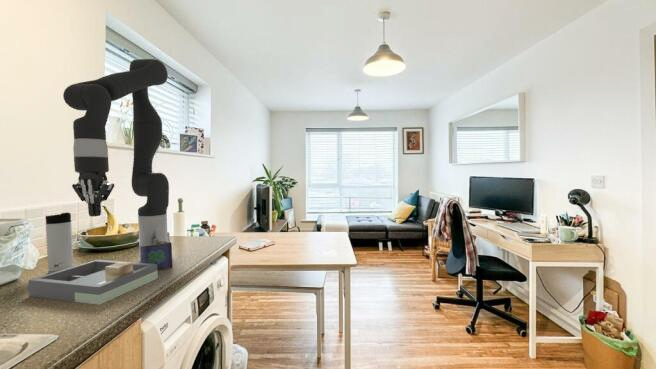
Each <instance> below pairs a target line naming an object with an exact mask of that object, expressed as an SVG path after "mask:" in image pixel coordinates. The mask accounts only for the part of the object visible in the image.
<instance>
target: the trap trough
mask: <svg viewBox="0 0 656 369" xmlns="http://www.w3.org/2000/svg"><path fill="white" fill-rule="evenodd" d="M118 262H123V261H122V260H121V261H120V260H107V259H106V260H105V259H94V260H91V261H87V262H83V263H81V264H78V265H74V266H73V267H70V268H67V269H63V270H60V271H57V272H53V273H50V274H49V273H47V274H44V275H41V276H37V277H34V278H30V279H28V280H27V282H28V296H29V297H32V298H33V297H34V298H40V299H49V300H57V301H65V302H72V303H73V302H75V303H82V304H90V305H98V306H99V305H103V304H105V303H107V302H109V301H111V300H113V299H116V298H117V297H120V296H122V295H124V294H127V293H128V292H132V291H133V290H135V289H137V288H139V287H141V286H145V285H146V284H149V283H150V282H153V281H154V280H157V279H159V276H158V275H159V274H158V273H159V272H158V271H159V270H157V264H149V263H141V262H133V261H128V262H129V263H133V272H131V273H128V274H126V275H123V276H121V277H118V278H115V279H113V280H110V281H108V282H106V276H105V267H106V266H109V265H112V264H115V263H118Z"/></svg>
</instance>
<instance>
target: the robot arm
mask: <svg viewBox="0 0 656 369" xmlns="http://www.w3.org/2000/svg"><path fill="white" fill-rule="evenodd" d="M167 80H168V70H167V67H166V66H165V64H164V63H163V62H162V61H160V60H159V59H154V58H141V59H133V60H132V61H131V62H130V64H129V70H128V71H127V70H126V71H120V72H114V73H112V74H107V75H105V76H102V77H100V78H97V79H93V80H87V81H82V82H76V83H73V84H70V85H68V86H66V88H65V89H64V91H63V93H62V94H63V95H62V96H63V100H64V102H65V104H66V105H68V106H69V107H70V108H71V109H73V110H77V111H85V114H84V115H83V116H81V117H77V118H75V119H74V121H73V122H72V123H73V125H72V128H73V148H72V149H73V164H74V165H73V166H74V172H75V173H77V174H78V173H79V175H78V180H77V183H73V184H72V185H71V187H72V189H73V191H74V192H75V194H77V196H78V198H79V200H80V201H81V202H85V203H86V204H87V208H88V209H87V211H88V216H89V217H100V216H101V215H102V214H101V213H102V205H101V204H102V202H105V201H107V200H108V198H109V197H110V195H111V193H112V191H113V189H114V188H115V183H110V182H109V180H108V177H107V174H106V173H108V172H109V171H110V168H109V167H110V166H109V165H110V164H109V149H108V144H107V133H106V125H107V122H108V118H109V116H110V115H109V114H110V112H111V108H112V102H115V101H117V100H120V99H122V98H123V97H126V96H129V95H132V96H131V97H132V111H133V112H132V113H133V115H132V117H133V118H132V128H133V129H132V132H133V133H132V134H133V162H132V173H131V188H132V191H133V193H134V194H135V195H137V196H139V197H141V198H142V197H144V198H145V197H146V203H145V204H144V205H143V206H140V207H139V208H137V209H138V210H137V219H138V220H137V221H138V243H139V245H138V246H139V249H140V246H141V245H146V244H154V241H153V240H154V239H155V238H158V241H160V242H161V241H163V242H164V241H166V242H171V241H170V240H171V238H170V232H169V231H168V217H167V214H168V213H167V210H168V207H169V203H170V202H169V201H170V194H169V193H170V184H169V179H168V178H167V176H166V175H165V174H164V173H162V172H156V171H154V172H153V159H154V157H155V154H156V152H157V151H158V149H159V147H160V145H161V142H162V140H163V123H162V122H163V121H162V118H161V116H160V114H159V113H158V111H157V110H156V109H155V107H154V106H153V104H152V103H151V99H150V97H149V87H152V86H153V87H154V86H161V85H164V84H165V83H166V82H167ZM139 263H141V252H140V251H139Z"/></svg>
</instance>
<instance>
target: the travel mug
mask: <svg viewBox="0 0 656 369" xmlns="http://www.w3.org/2000/svg"><path fill="white" fill-rule="evenodd" d="M71 216H72V215H71V212H60V213H59V214H53V215H45V232H46V251H47V252H46V253H47V255H46V256H47V269H48V270H47V271H48V273H47V274H50V273H53V272H57V271H60V270H63V269H67V268H70V267H73V266H75V265H74V250H73V249H74V248H73V228H72V219H71V218H72V217H71Z"/></svg>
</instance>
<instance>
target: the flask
mask: <svg viewBox="0 0 656 369" xmlns="http://www.w3.org/2000/svg"><path fill="white" fill-rule="evenodd" d="M153 241H154V244H146V245H141V246H140V248H139V253H140V252H141V262H140V263H149V264H157V271H159V270H160V271H161V270H168V269H172V268H173V247H172V246H173V245H172V244H173V243H172V242H171V241H170V242H166V241H164V242H163V241H161V242H160V241H158V238H155V239H154V240H153Z"/></svg>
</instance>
